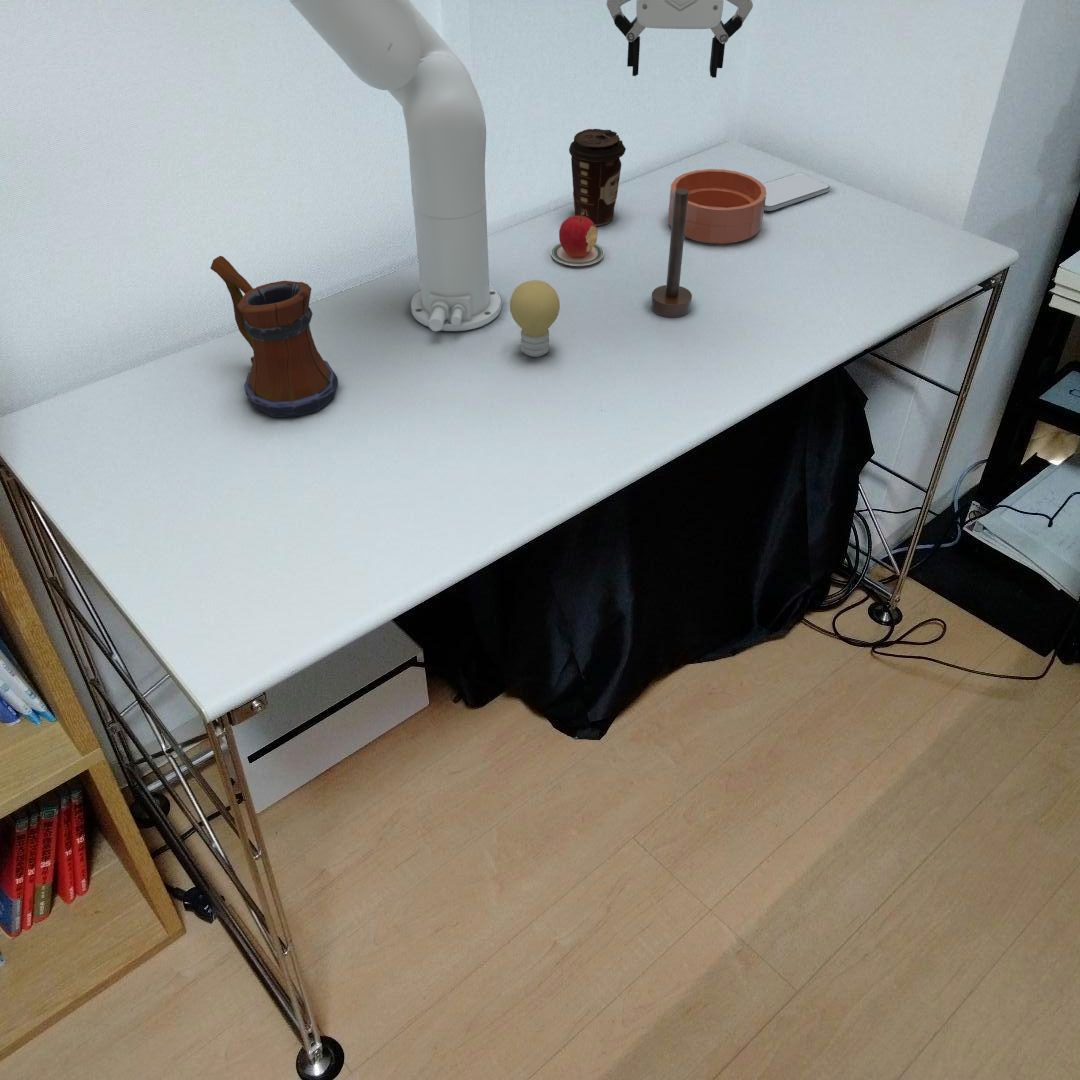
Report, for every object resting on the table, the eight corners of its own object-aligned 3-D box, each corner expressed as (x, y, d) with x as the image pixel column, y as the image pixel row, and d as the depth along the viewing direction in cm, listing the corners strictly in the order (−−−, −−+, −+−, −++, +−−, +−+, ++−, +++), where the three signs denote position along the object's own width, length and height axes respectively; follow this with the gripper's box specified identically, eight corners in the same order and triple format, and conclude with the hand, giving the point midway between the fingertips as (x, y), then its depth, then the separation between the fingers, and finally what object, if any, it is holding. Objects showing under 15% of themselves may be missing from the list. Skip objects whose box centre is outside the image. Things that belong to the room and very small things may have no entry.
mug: (201, 372, 134) (172, 267, 124) (276, 338, 140) (255, 235, 130) (281, 432, 124) (257, 323, 114) (357, 393, 130) (341, 286, 120)
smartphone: (832, 186, 173) (768, 207, 166) (831, 193, 173) (767, 214, 167) (800, 171, 177) (736, 191, 170) (798, 178, 178) (735, 198, 171)
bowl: (763, 248, 158) (769, 211, 154) (668, 244, 159) (671, 207, 155) (757, 206, 169) (762, 170, 165) (667, 203, 170) (670, 167, 166)
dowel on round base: (691, 318, 143) (704, 201, 132) (650, 316, 144) (660, 199, 132) (690, 298, 148) (702, 182, 136) (650, 296, 148) (660, 181, 136)
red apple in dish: (602, 243, 160) (603, 202, 155) (605, 268, 154) (607, 227, 149) (550, 243, 160) (550, 203, 155) (551, 268, 154) (552, 227, 149)
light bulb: (517, 368, 134) (516, 299, 128) (505, 342, 139) (504, 275, 132) (565, 361, 136) (566, 292, 129) (551, 335, 140) (552, 268, 133)
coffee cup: (622, 207, 169) (627, 127, 160) (620, 230, 163) (625, 149, 154) (569, 205, 170) (571, 125, 161) (565, 228, 163) (567, 146, 155)
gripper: (608, -77, 115) (603, 82, 127) (765, -75, 114) (746, 85, 126) (610, -93, 121) (605, 61, 132) (760, -91, 119) (742, 64, 131)
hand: (673, 73), depth 129 cm, fingers open, 9 cm apart
